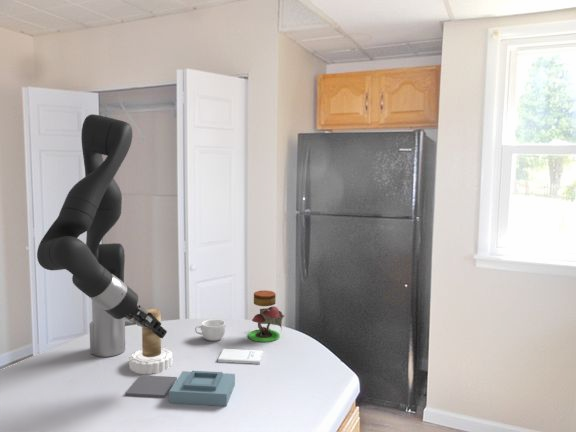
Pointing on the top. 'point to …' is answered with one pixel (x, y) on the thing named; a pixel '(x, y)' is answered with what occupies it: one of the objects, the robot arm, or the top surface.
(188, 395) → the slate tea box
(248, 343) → the top surface
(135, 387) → the grey rubber coaster
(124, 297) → the robot arm
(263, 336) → the mushroom figurine
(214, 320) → the teacup
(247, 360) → the external hard drive
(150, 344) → the oak stopper
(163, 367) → the mooncake
